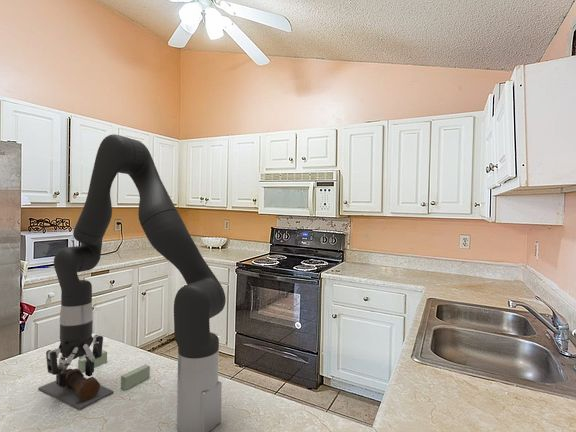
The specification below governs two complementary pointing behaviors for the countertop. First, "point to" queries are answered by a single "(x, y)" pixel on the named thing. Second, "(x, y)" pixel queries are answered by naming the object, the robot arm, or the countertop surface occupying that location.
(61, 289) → the robot arm
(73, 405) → the mat
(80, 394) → the bolt
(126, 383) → the rails
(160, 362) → the countertop surface
